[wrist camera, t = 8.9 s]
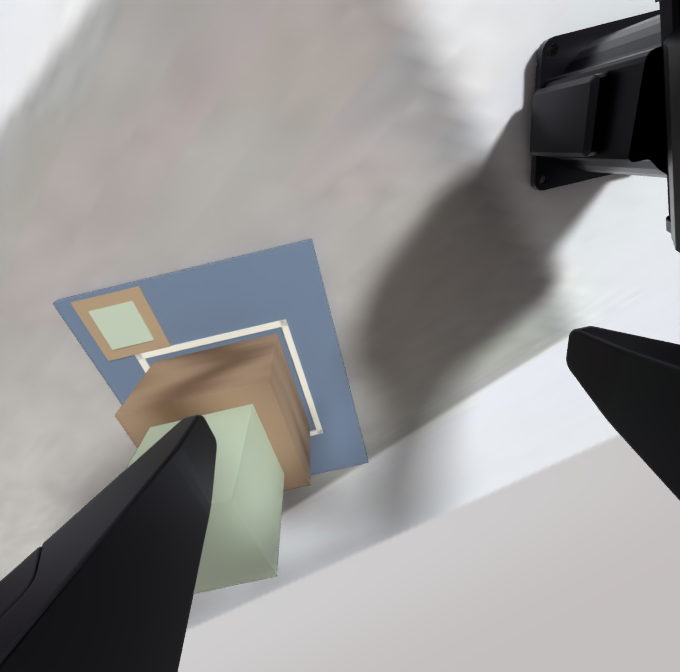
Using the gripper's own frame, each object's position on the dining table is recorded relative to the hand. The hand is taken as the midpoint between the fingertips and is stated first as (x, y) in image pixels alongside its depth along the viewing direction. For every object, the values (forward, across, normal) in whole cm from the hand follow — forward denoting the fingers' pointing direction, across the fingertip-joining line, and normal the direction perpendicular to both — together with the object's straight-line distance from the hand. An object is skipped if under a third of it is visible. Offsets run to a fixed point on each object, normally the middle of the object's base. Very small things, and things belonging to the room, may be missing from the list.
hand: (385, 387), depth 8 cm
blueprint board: (+13, +9, +8) cm, 18 cm away
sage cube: (+8, +9, +8) cm, 14 cm away
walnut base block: (+12, +9, +8) cm, 17 cm away
